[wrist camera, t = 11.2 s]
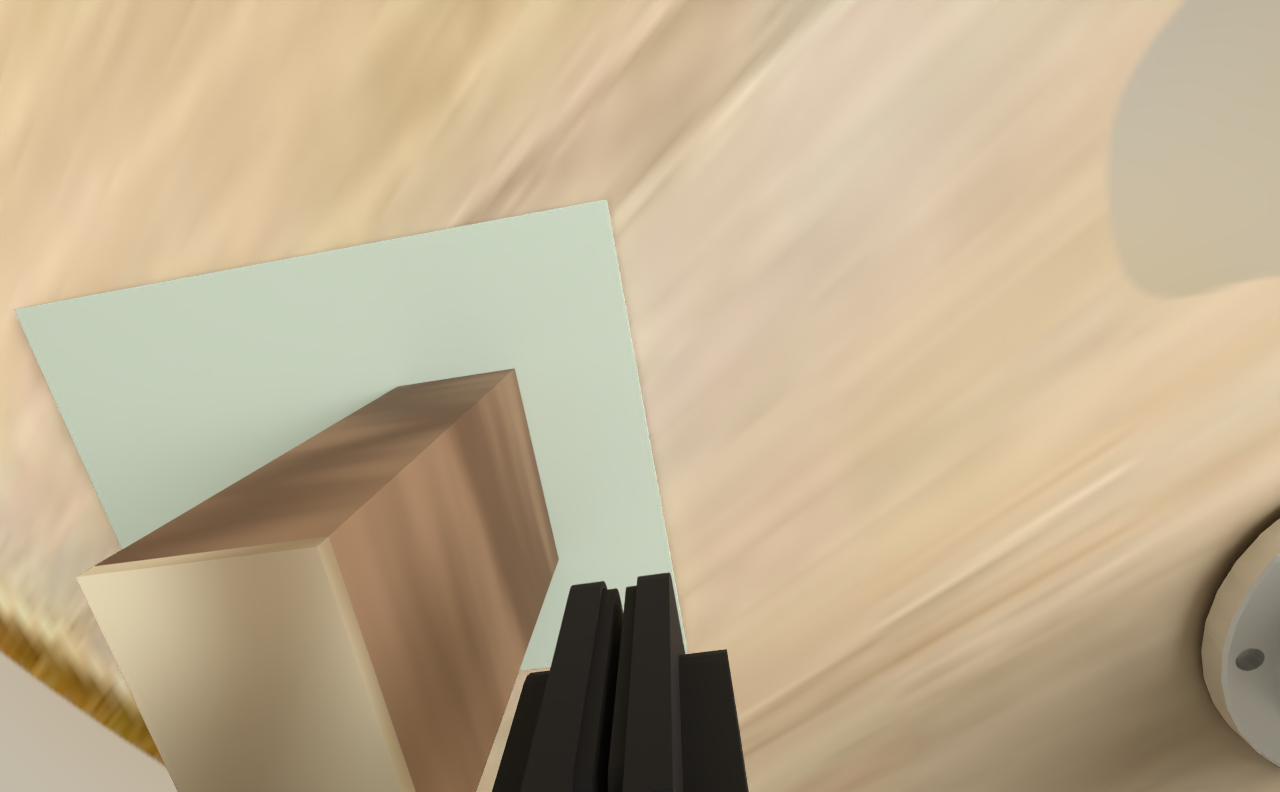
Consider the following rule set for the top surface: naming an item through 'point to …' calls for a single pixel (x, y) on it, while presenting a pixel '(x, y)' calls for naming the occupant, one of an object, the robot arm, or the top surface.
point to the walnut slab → (343, 602)
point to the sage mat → (371, 376)
